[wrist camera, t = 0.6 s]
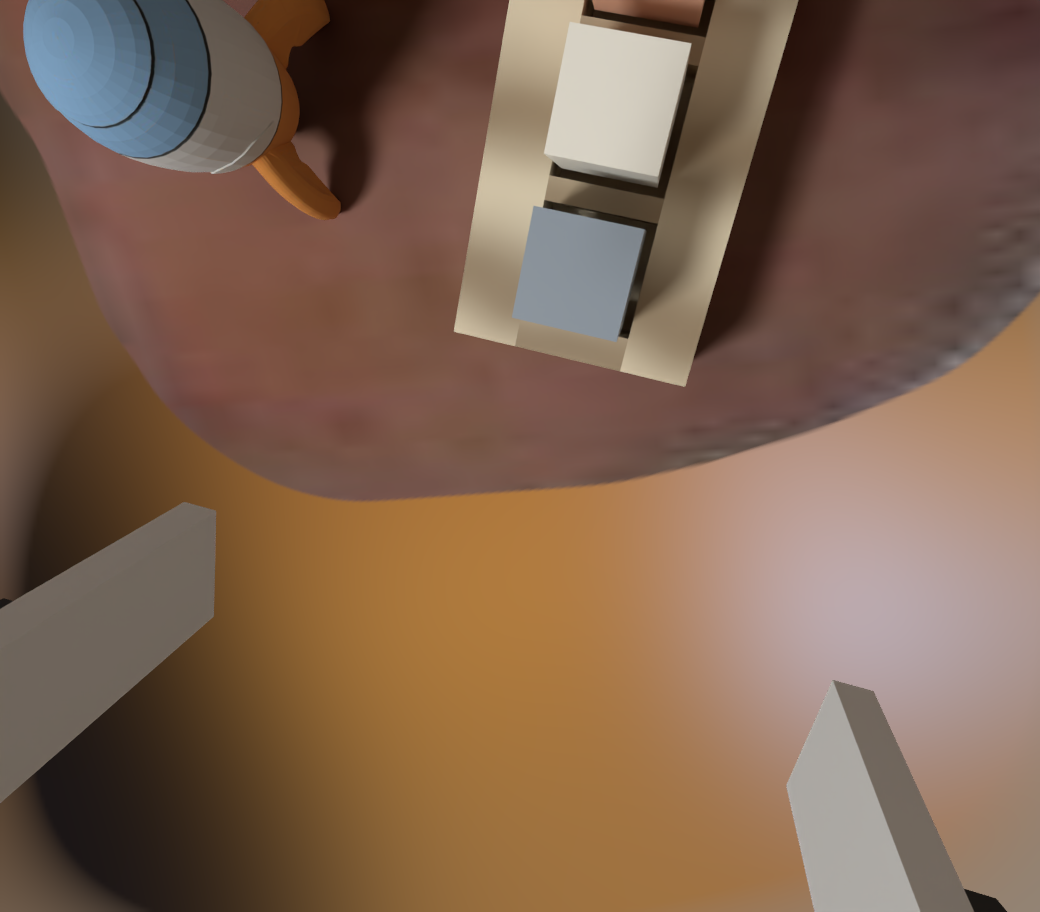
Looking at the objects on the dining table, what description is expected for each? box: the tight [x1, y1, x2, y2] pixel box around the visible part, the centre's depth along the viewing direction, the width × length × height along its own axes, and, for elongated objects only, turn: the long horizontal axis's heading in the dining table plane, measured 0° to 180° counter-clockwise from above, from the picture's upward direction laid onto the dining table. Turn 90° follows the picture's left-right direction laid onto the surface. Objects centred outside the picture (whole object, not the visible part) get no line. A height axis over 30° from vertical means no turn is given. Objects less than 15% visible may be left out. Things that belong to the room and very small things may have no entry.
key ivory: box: [544, 22, 692, 188], centre depth 26 cm, size 4×4×5 cm
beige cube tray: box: [454, 0, 798, 387], centre depth 30 cm, size 20×11×5 cm, turn 168°
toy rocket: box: [24, 0, 341, 220], centre depth 29 cm, size 10×11×15 cm
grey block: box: [512, 206, 646, 342], centre depth 28 cm, size 4×4×5 cm
